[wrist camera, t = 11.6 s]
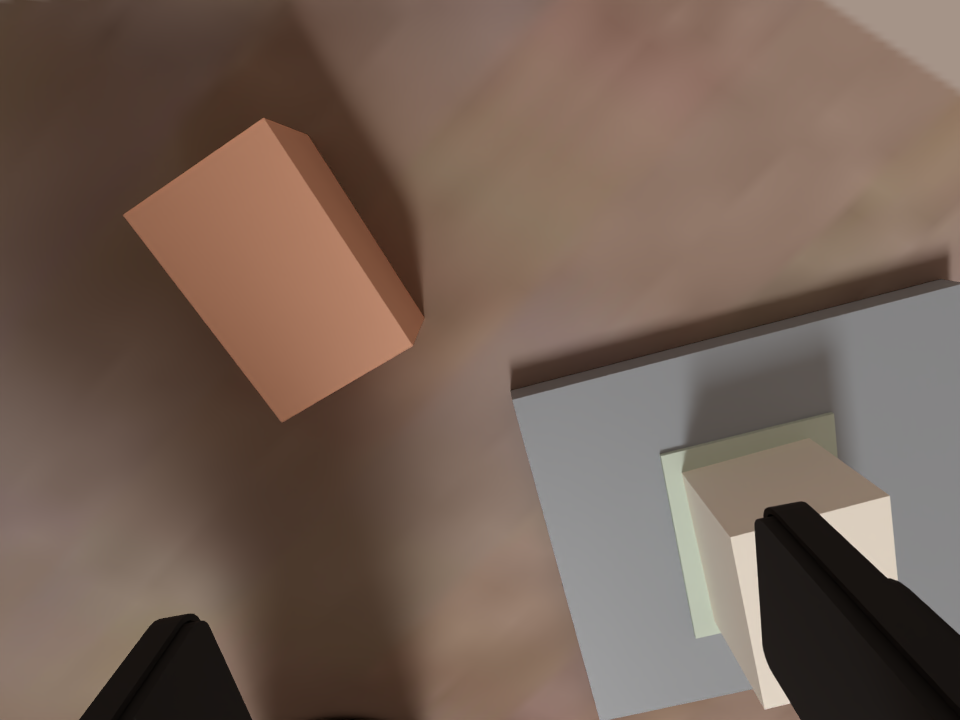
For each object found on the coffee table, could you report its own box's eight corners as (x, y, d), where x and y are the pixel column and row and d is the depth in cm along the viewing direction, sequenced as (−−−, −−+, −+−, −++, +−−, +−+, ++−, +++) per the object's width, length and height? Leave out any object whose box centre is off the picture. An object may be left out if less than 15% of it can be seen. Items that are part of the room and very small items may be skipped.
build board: (947, 626, 30) (970, 646, 28) (595, 702, 31) (601, 724, 30) (940, 279, 24) (968, 283, 23) (510, 390, 25) (512, 401, 24)
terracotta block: (424, 316, 24) (412, 345, 20) (318, 380, 25) (281, 422, 21) (309, 135, 22) (263, 117, 17) (195, 211, 23) (122, 214, 18)
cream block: (830, 591, 27) (906, 675, 22) (714, 620, 28) (764, 709, 23) (809, 437, 25) (890, 495, 20) (681, 472, 25) (730, 537, 20)
